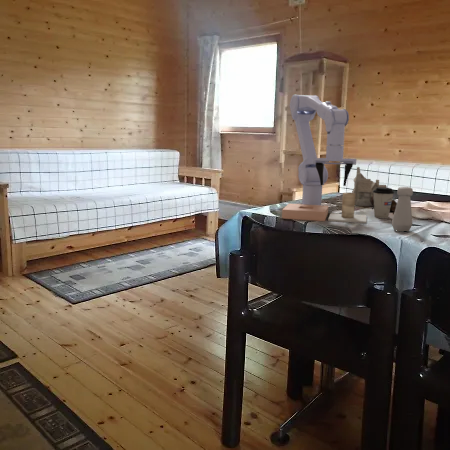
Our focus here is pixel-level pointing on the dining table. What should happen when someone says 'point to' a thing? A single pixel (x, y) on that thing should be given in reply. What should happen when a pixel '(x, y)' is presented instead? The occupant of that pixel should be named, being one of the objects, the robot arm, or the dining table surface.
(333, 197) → the dining table surface
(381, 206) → the coffee cup
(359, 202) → the ceramic cottage
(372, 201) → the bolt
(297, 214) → the square board with hole
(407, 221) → the salt shaker
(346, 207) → the plug
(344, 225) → the dining table surface
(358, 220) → the mat
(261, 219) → the dining table surface
